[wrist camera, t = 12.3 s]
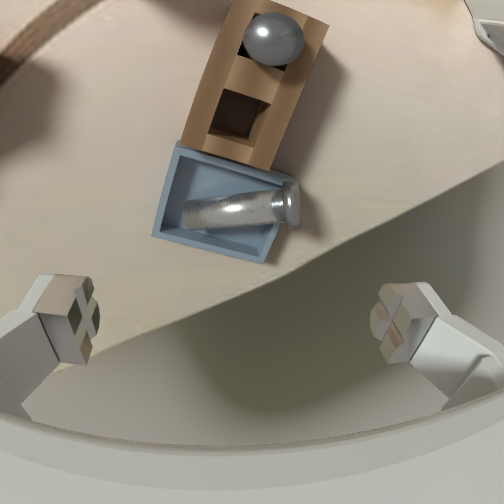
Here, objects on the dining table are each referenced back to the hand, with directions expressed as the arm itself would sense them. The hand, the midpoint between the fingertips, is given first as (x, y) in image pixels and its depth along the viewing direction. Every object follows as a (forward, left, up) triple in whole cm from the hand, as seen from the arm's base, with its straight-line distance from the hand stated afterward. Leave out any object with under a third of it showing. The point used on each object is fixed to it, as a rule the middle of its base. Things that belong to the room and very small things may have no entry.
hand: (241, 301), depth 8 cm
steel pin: (0, +10, -27) cm, 29 cm away
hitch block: (-1, -6, -29) cm, 30 cm away
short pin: (-1, -10, -29) cm, 31 cm away
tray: (-3, +8, -29) cm, 30 cm away
